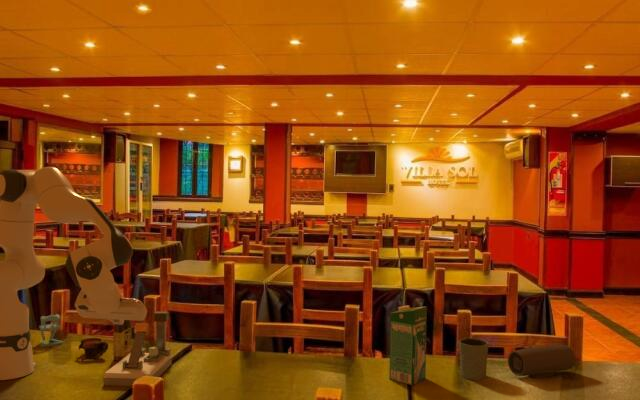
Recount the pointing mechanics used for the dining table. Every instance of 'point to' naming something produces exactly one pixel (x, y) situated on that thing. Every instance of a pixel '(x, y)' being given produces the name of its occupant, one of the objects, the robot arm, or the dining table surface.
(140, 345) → the lever orange
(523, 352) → the bluetooth speaker
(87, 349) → the pottery mug
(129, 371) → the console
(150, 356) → the push button
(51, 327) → the chair
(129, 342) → the sauce bottle
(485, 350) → the grey cup
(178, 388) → the dining table surface
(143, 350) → the block
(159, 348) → the lever black
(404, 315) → the milk carton
